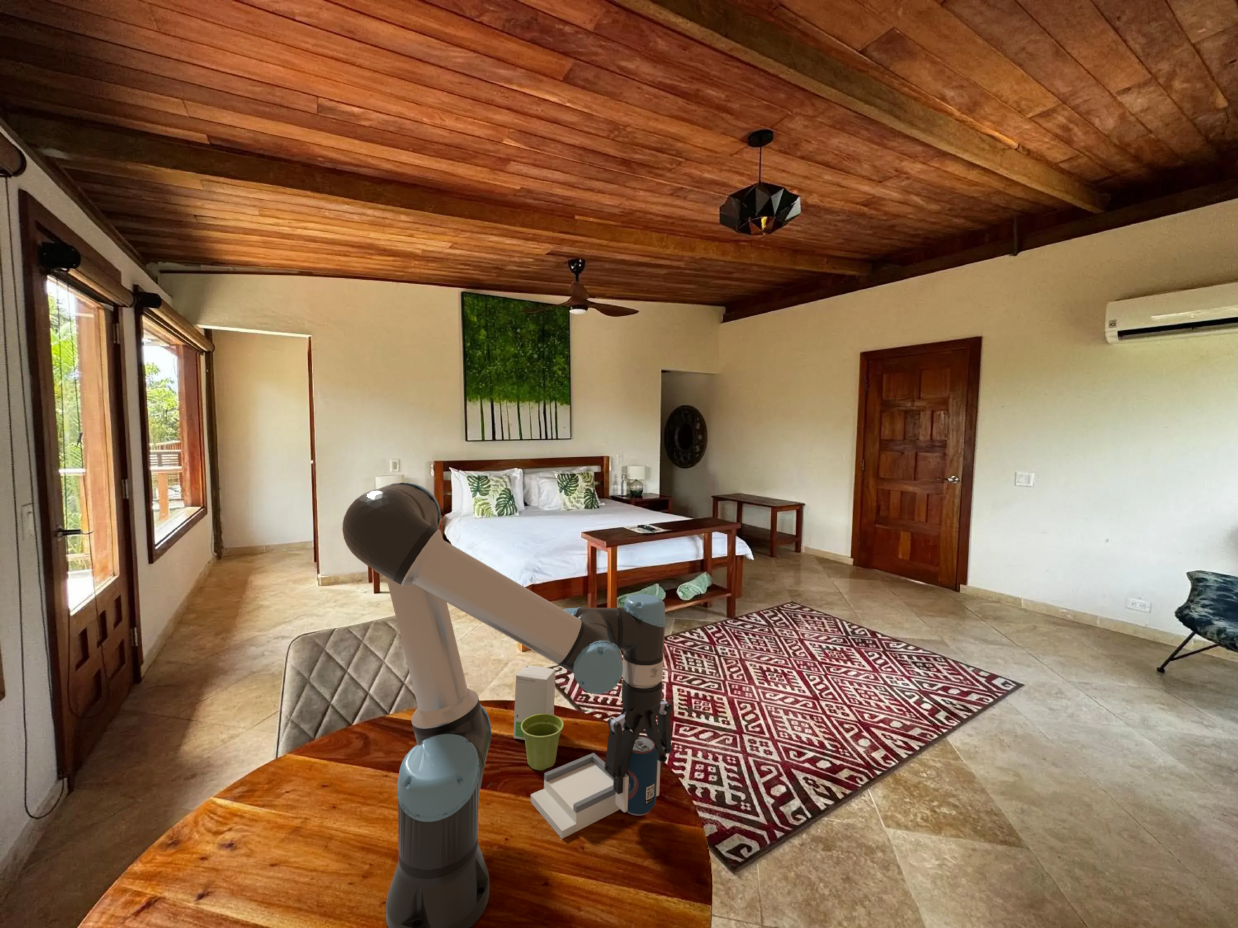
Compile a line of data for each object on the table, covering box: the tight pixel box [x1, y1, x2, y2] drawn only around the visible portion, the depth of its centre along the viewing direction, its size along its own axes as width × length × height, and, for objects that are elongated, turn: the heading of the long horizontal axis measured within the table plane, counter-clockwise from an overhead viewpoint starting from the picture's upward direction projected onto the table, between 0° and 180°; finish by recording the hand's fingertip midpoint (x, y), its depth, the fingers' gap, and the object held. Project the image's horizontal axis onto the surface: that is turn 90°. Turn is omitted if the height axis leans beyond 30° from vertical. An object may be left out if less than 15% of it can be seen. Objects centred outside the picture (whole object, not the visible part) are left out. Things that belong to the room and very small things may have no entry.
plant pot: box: [521, 713, 565, 771], centre depth 117 cm, size 9×9×9 cm
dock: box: [530, 752, 621, 840], centre depth 104 cm, size 15×12×5 cm
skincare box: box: [513, 664, 556, 741], centre depth 128 cm, size 8×7×16 cm
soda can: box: [625, 734, 658, 816], centre depth 99 cm, size 7×7×12 cm
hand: (637, 799), depth 99 cm, fingers closed on soda can, 7 cm apart
